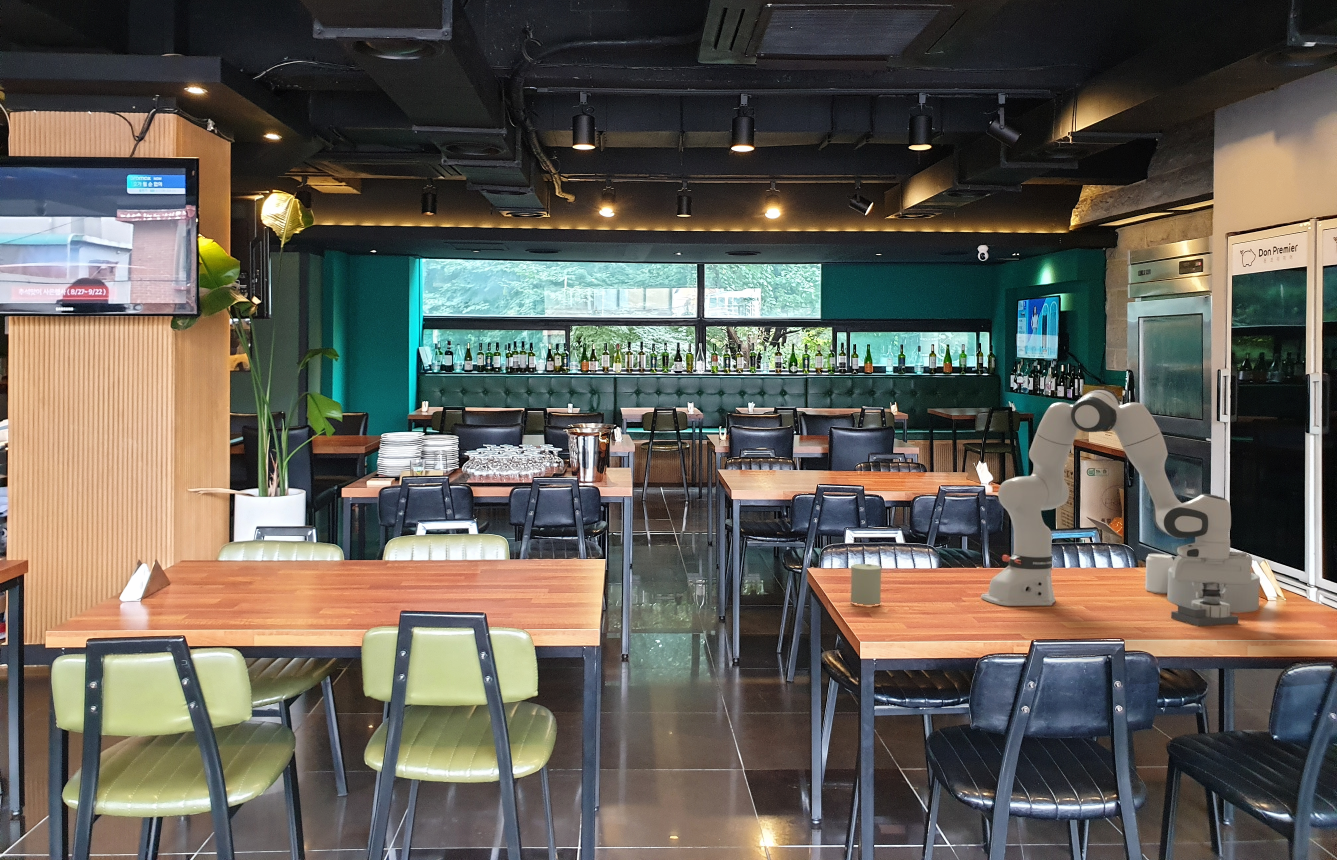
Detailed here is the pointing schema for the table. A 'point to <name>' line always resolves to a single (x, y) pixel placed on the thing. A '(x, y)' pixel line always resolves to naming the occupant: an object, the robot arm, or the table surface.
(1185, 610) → the stepped dark base plate
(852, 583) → the can
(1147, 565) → the beverage can
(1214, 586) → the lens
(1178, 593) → the container
